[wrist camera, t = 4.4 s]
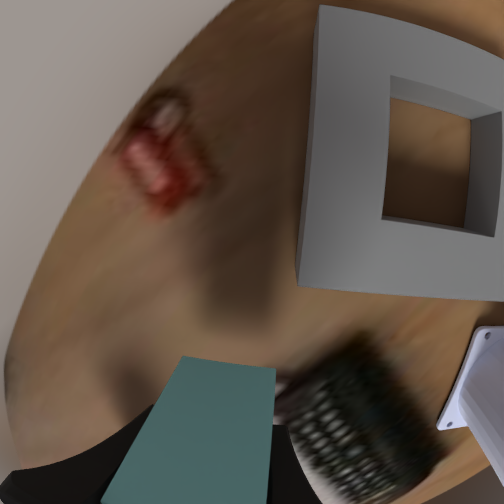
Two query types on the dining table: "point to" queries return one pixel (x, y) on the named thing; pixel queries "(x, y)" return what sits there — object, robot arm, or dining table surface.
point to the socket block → (376, 153)
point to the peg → (202, 439)
